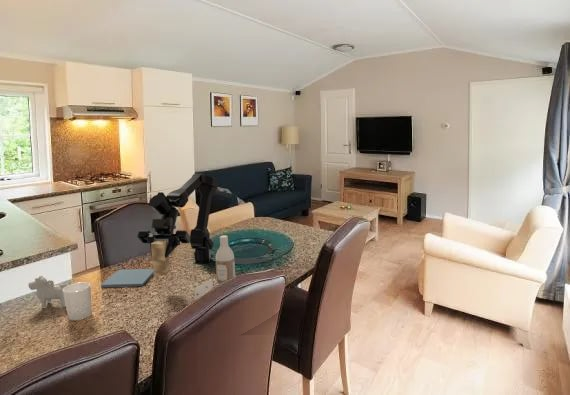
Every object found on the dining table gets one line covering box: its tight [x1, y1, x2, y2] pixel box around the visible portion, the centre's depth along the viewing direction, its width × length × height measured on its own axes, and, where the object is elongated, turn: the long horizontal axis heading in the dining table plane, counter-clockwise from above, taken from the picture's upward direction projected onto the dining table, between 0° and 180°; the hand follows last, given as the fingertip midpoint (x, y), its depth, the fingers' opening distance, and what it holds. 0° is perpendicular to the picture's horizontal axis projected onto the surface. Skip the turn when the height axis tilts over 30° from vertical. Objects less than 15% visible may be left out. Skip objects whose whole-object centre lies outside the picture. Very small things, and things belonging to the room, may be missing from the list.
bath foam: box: [215, 234, 236, 285], centre depth 141 cm, size 7×7×20 cm
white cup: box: [63, 281, 93, 321], centre depth 122 cm, size 8×8×10 cm
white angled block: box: [194, 278, 214, 301], centre depth 127 cm, size 4×10×9 cm, turn 84°
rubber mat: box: [100, 268, 154, 288], centre depth 154 cm, size 16×16×1 cm
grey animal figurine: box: [27, 275, 68, 309], centre depth 130 cm, size 5×13×11 cm, turn 93°
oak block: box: [150, 239, 171, 276], centre depth 139 cm, size 4×4×12 cm
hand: (158, 257), depth 138 cm, fingers closed on oak block, 5 cm apart
